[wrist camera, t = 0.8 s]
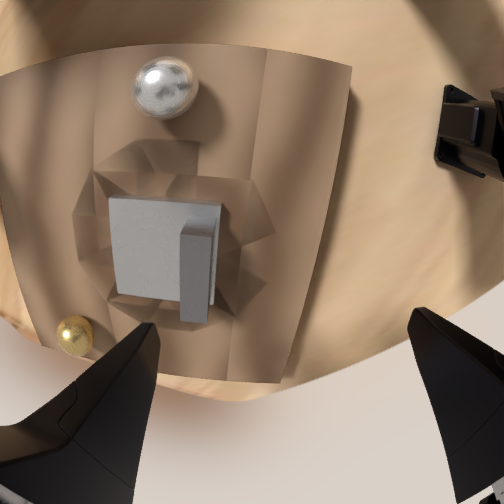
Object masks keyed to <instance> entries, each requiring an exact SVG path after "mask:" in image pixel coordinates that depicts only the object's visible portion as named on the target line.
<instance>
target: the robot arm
mask: <svg viewBox="0 0 504 504" xmlns="http://www.w3.org/2000/svg"><path fill="white" fill-rule="evenodd" d="M449 89H450V90H451V93H450V91H449ZM490 91H491V95H492V98H493V99H494V102H486V101H479V100H477V99H475V98H474V97H472V96H471V95H469V94H467V93H465V92H464V91H462V90H460V89H458V88H457V87H455V86H453V85H445V87H444V95H443V103H442V111H441V118H440V124H439V130H438V136H437V142H436V147H435V152H434V156H435V158H436V160H438V161H441V162H443V163H446V164H449V165H451V166H454V167H456V168H459V169H461V170H464V171H466V172H469V173H471V174H473V175H476V176H478V177H480V178H484V177H485V176H486V175H489V176H491V177H494V178H496V179H498V180H500V181H503V182H504V88H499V89H494V90H490ZM440 153H441V157H440V156H439V154H440ZM481 172H482V173H481ZM407 330H408V334H409V338H410V341H411V344H412V347H413V351H414V355H415V359H416V362H417V365H418V368H419V371H420V374H421V376H422V379H423V382H424V385H425V387H426V390H427V393H428V396H429V399H430V402H431V405H432V408H433V411H434V414H435V417H436V421H437V424H438V427H439V430H440V434H441V437H442V441H443V444H444V448H445V452H446V456H447V460H448V465H449V469H450V473H451V478H452V482H453V487H454V492H455V498H456V502H457V504H459V503H461V502H463V501H465V500H466V499H468V498H470V497H472V496H473V495H475V494H477V493H479V492H480V491H482V490H484V489H485V488H487V487H488V486H490V485H492V488H493V491H494V492H493V493H491V494H490V495H488V496H487V497H485V498H484V499H482V500H481V501H480V502H479V504H504V355H502V354H501V353H500V352H498V351H497V350H494V349H493V348H492V347H490V346H489V345H487V344H485V343H483V342H482V341H481V340H479V339H477V338H476V337H474V336H472V335H471V334H469V333H468V332H466V331H464V330H463V329H461V328H459V327H458V326H456V325H454V324H453V323H451V322H449V321H448V320H446V319H444V318H443V317H441V316H439V315H438V314H436V313H434V312H432V311H431V310H429V309H427V308H426V307H418V308H415V309H414V310H413V312H412V314H411V317H410V320H409V323H408V327H407ZM160 348H161V341H160V337H159V334H158V331H157V328H156V325H155V323H153V322H142V323H141V324H140V325H138V326H137V327H136V328H135V329H134V330H133V331H131V332H130V333H129V334H128V335H127V336H125V337H124V338H123V339H122V340H121V341H120V342H118V343H117V344H116V345H115V346H114V347H113V348H111V349H110V350H109V351H108V352H107V353H106V354H104V355H103V356H102V357H101V358H100V359H99V360H97V361H96V362H95V363H94V364H93V365H92V366H91V367H89V368H88V369H87V370H86V371H85V372H84V373H82V374H81V375H80V376H79V377H78V378H77V379H76V381H73V382H72V383H71V384H70V385H69V386H68V387H66V388H65V389H64V390H63V391H62V392H60V393H59V394H58V395H57V396H55V397H54V398H53V399H51V400H50V401H49V402H48V403H46V404H45V405H43V406H42V407H41V408H39V409H38V410H36V411H35V412H34V413H32V414H31V415H29V416H28V417H27V418H25V419H24V420H22V421H21V422H19V423H17V424H13V425H9V426H0V504H132V502H133V496H134V488H135V483H136V477H137V472H138V466H139V461H140V456H141V450H142V445H143V440H144V435H145V431H146V426H147V421H148V417H149V412H150V408H151V403H152V399H153V395H154V390H155V386H156V380H157V371H158V363H159V355H160Z"/></svg>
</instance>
